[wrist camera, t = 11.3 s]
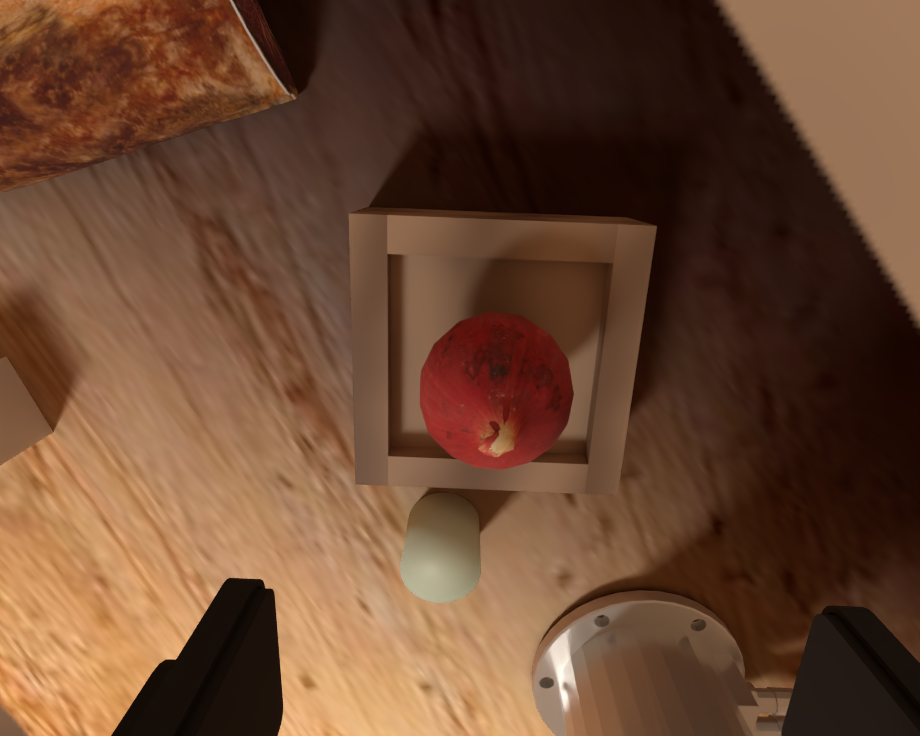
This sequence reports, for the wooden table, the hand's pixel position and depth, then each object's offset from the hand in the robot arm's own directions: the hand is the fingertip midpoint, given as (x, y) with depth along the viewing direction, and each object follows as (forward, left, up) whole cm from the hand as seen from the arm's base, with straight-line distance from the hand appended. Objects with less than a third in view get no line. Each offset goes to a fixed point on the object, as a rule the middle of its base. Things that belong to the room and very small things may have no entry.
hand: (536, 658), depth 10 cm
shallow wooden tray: (0, 0, -20) cm, 20 cm away
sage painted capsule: (+2, +11, -20) cm, 23 cm away
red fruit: (0, 0, -16) cm, 16 cm away
